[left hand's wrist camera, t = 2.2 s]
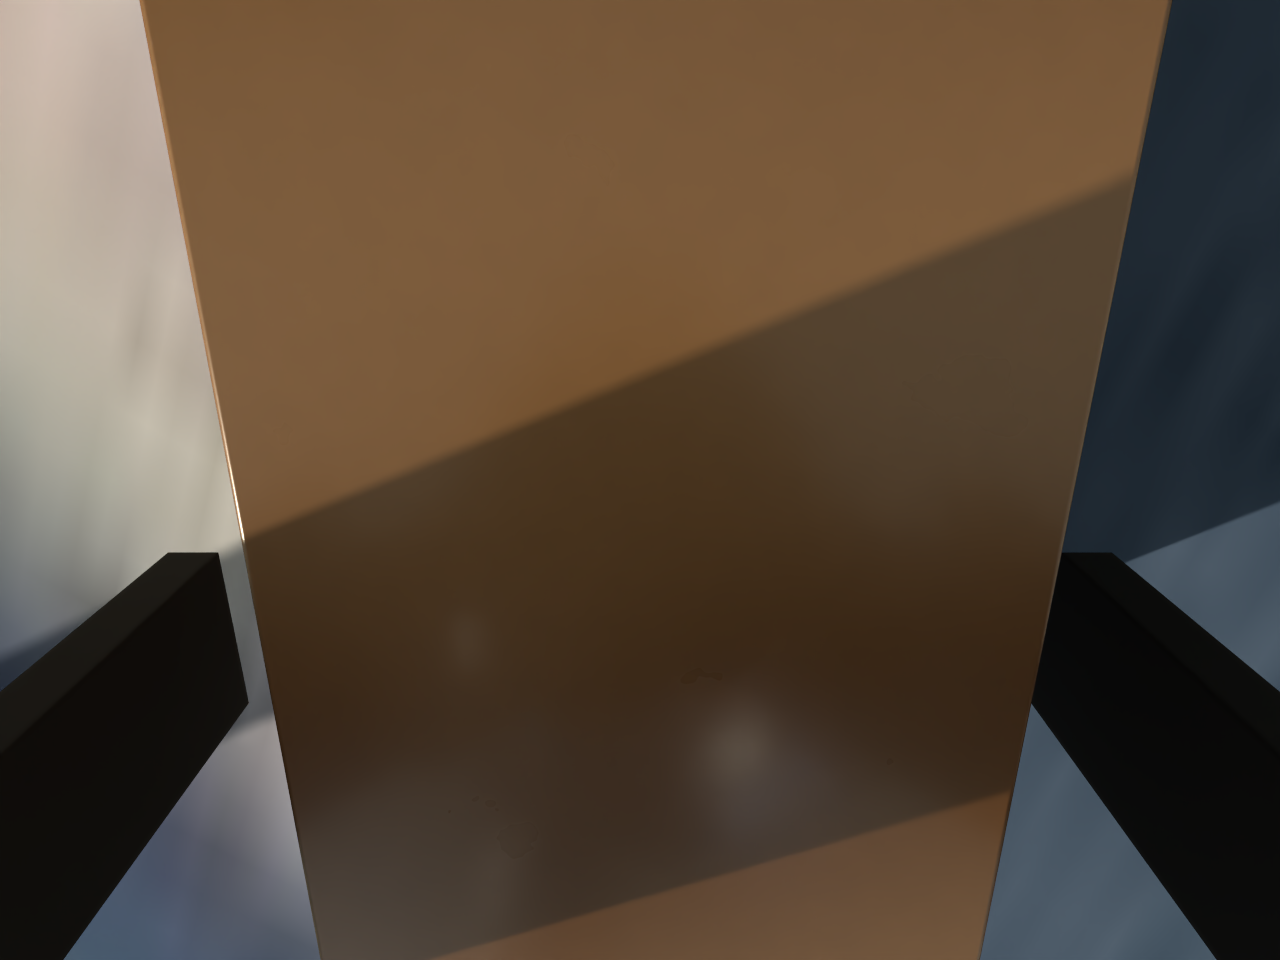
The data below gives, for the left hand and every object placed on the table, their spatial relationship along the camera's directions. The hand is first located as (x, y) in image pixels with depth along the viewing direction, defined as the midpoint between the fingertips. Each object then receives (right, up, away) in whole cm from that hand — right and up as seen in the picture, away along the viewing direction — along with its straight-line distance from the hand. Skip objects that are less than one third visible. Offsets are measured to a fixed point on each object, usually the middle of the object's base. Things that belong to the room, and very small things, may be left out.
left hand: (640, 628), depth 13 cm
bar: (0, +10, -1) cm, 10 cm away
